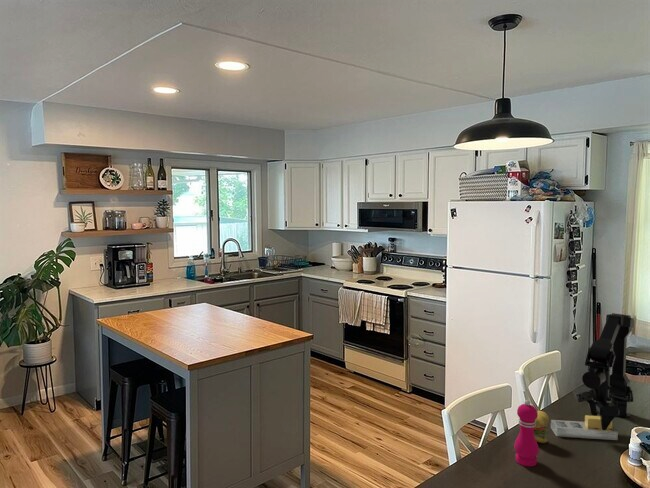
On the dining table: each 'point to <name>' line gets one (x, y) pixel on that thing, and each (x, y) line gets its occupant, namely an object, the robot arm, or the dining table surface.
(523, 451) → the pepper mill
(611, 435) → the grey compartment tray
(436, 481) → the dining table surface
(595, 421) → the pale yellow block
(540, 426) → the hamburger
